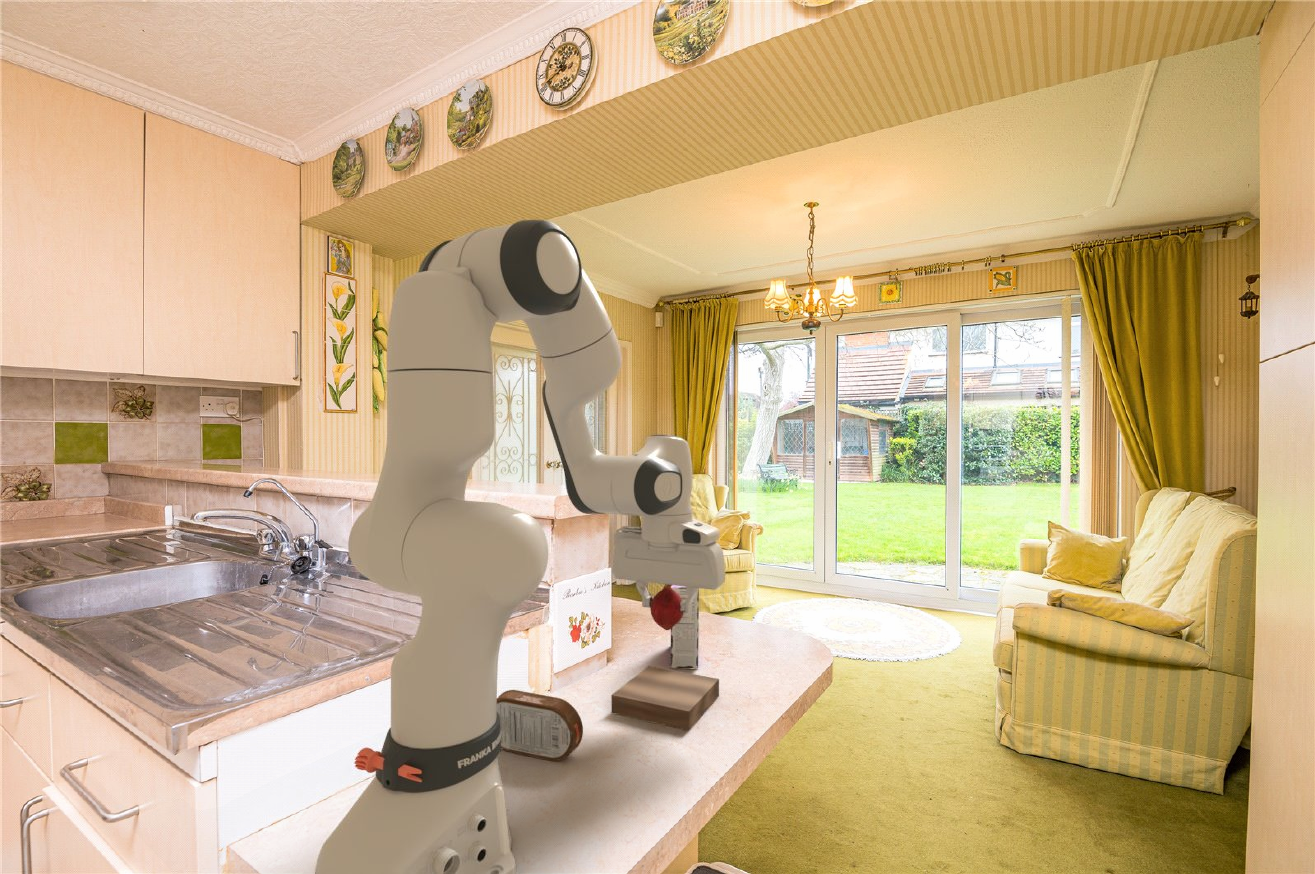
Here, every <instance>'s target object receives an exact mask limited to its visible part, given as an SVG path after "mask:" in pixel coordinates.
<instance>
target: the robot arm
mask: <svg viewBox="0 0 1315 874" xmlns="http://www.w3.org/2000/svg"><path fill="white" fill-rule="evenodd" d="M388 320H389V323H388V328H387V329H388V330H387V340H386V415H387V416H386V422H387V423H386V424H387V425H386V445H385V452H384V458H383V464H382V468H381V470H380V475H379V477H378V478H379V479H378V481H377V485H376V488H375V491H374V494H373V497H372V499H371V501H370V503H369V504H368V506H367V507H366V508H365V510H363V511H362V512H361V514H360V515H358V517H357V518H356V520H355V521H354V522H353V524H352V527H351V530H350V532H349V537H348V542H347V544H348V545H347V546H348V547H347V548H348V555H349V558H350V561H351V564H352V566H353V567H354V568H355V570H356V571H358V572H359V573H360V574H361V575H362V576H364V577H365V578H366V579H368V580H370V581H371V582H373V583H375V584H377V585H378V586H380V587H381V588H383V589H386V590H389V591H392V592H397V593H400V594H401V593H403V594H406V595H411V596H417V597H420V599H421V605H422V606H421V614H420V619H419V623H418V627H417V629H416V630H417V631H416V633H415V635H414V637H413V638H411V639H409V640H408V641H407V642H406V643H405V644H404V645H402V646H401V647H400V648H399V649H398V651H397V652H396V653H395V655H394V657H393V659H392V662H391V666H390V727H389V729H388V731H387V733H386V735H385V739H384V742H383V746H382V749H381V751H379V750H374V749H372V748H370V747H364V748H362V749H360V750H359V751H358V752H357V755H356V757H354V760H355V761H354V762H353V763H354V767H355V768H356V769H357V770H360V771H366V772H367V773H369V774H373V773H375V776H374V778H372V780H371V781H370V782H369V784H368V785H367V787H366V788H365V789H364V790H363V792H362V793H361V794H360V796H359V797H358V799H357V800H355V802H354V804H353V805H352V807H351V808H350V809H349V810H348V811H347V813H346V814H345V816H344V817H343V818H342V819H341V821H340V822H339V823H338V825H337V826H336V828H335V829H334V830H333V831H332V832H331V834H330V835H329V836H328V838H327V839H326V840H325V842H323V844H322V846H321V847H320V851H319V854H318V856H317V859H316V864H315V869H314V874H517V867H516V860H515V857H514V854H513V852H512V850H511V849H512V832H511V830H510V826H509V825H508V824H509V823H508V819H507V809H506V800H505V798H506V797H505V791H504V786H503V781H502V776H501V771H500V765H499V759H498V757H499V754H500V753H501V752H500V751H501V750H502V748H501V736H502V730H501V726H500V715H499V713H498V712H497V698H498V672H499V671H498V669H499V667H498V666H499V665H498V664H499V655H500V648H501V643H502V640H503V636H504V634H505V630H506V628H507V625H508V623H509V620H510V619H511V617H512V615H513V614H514V612H515V611H516V610H517V609H518V607H519V606H520V605H522V604H523V603H524V602H525V601H526V600H528V599H529V598H531V596H532V595H533V594H534V593H535V592H536V591H537V589H538V588H539V586H540V585H541V584H542V581H543V579H544V576H545V574H546V571H547V567H548V562H549V544H548V540H547V536H546V533H545V531H544V529H543V527H542V526H541V524H540V523H539V521H538V520H537V519H536V518H535V517H533V516H531V515H529V514H527V513H525V512H522V511H520V510H518V509H514V508H513V507H509V506H506V505H505V504H501V503H497V502H491V501H487V502H486V501H476V500H466V495H465V494H466V488H467V483H468V479H469V477H470V474H471V472H472V469H473V467H474V465H475V464H476V462H477V461H478V460H479V459H480V458H482V457H483V456H485V454H487V452H489V450H490V449H491V447H492V445H493V443H494V439H495V397H494V396H495V395H494V394H495V392H494V389H495V388H494V387H495V386H494V362H493V361H494V359H493V349H492V340H491V336H492V334H493V330H494V327H495V325H496V323H502V324H503V323H504V324H506V323H512V322H518V321H522V322H524V324H525V325H527V327H528V331H529V333H530V336H531V339H532V341H533V344H534V346H535V349H536V351H537V353H538V355H539V358H540V361H541V364H542V365H543V368H544V373H545V380H544V381H543V384H542V389H541V395H542V403H543V406H544V411H545V414H546V418H547V420H548V424H549V427H550V429H551V430H550V431H551V434H552V436H553V439H554V442H555V446H556V448H557V449H556V450H557V452H558V455H559V458H560V461H561V464H562V469H563V473H564V479H565V480H564V481H565V489H566V493H567V496H568V498H569V500H570V502H571V504H572V506H573V507H574V508H575V509H576V510H577V511H579V512H580V513H582V514H586V515H594V514H595V515H601V514H602V515H603V514H609V515H620V516H639V517H641V526H632V527H631V526H627V525H624V526H623V525H622V526H621V527H620V528H618V529H617V530H616V531H615V532H614V536H613V545H614V550H613V554H612V555H613V556H612V565H611V566H612V567H611V568H612V569H611V571H612V575H613V576H614V578H615V579H618V580H625V581H632V582H633V581H634V582H635V583H636V584H635V587H636V590H637V591H638V594H639V595H640V597H641V605H642V607H643V608H649V609H650V608H651V602H652V600H653V598H654V597H655V595H651V594H650V592H649V590H648V588H647V586H648V585H649V583H650V584H651V583H652V584H661V585H665V584H667V585H676V586H685V587H686V592H687V593H690V594H689V596H688V597H687V599H686V600H683V601H682V602H680V606H681V609H680V611H681V612H684V613H690V612H691V611H692V601H693V600H694V598H695V596H696V594H697V593H698V588H699V589H701V590H703V589H704V590H711V591H712V590H713V591H715V590H718V589H719V588H721V586H722V585H724V583H725V581H726V564H725V556H724V551H723V547H722V546H721V545H720V544H719V543H718V542H717V541H718V540H719V539H720V537H721V536H720V534H721V533H720V529H719V528H718V527H716V526H713V525H711V524H708V523H706V522H703V521H701V520H699V519H697V518H694V517H693V513H694V511H693V506H692V504H691V495H692V491H693V483H694V482H693V463H692V455H691V450H690V449H691V448H690V445H689V442H688V441H687V440H686V439H684V438H682V437H680V436H676V435H668V434H652V435H649V436H647V437H646V438H645V441H644V446H643V447H642V448H641V449H640V450H638V451H637V452H635V453H633V455H609V454H605V453H603V452H601V451H599V450H598V449H597V448H596V447H595V445H594V443H593V442H594V441H593V438H592V435H591V431H590V427H589V424H588V421H587V417H586V413H585V406H586V405H587V404H589V403H590V402H592V401H594V400H595V399H597V398H598V397H600V396H601V395H602V394H603V393H605V392H606V391H607V390H608V389H609V388H610V387H611V386H612V385H613V383H614V382H615V381H616V379H617V378H618V376H619V374H620V371H621V367H622V363H623V356H622V349H621V345H620V343H619V339H618V336H617V334H616V332H615V329H614V327H613V324H612V321H611V319H610V317H609V314H608V313H607V309H606V308H605V306H604V303H603V301H602V300H601V298H600V296H599V294H598V292H597V290H596V288H595V287H594V284H593V283H592V282H591V279H590V278H589V276H588V274H587V273H586V272H585V270H584V269H583V266H582V260H581V256H580V254H579V251H578V249H577V247H576V244H575V243H574V242H573V240H572V239H571V238H570V236H569V235H568V234H567V233H566V232H565V231H564V230H563V229H562V228H561V227H560V226H559V225H557V224H556V223H554V222H552V221H548V220H544V219H523V220H518V221H516V222H514V223H513V224H505V225H500V226H499V225H498V226H494V227H490V228H489V227H485V228H480V229H476V230H474V231H471V232H468V233H465V234H463V235H460V236H459V237H456V238H454V239H450V240H445V241H443V242H441V243H439V244H438V245H436V246H435V247H434V248H432V249H431V250H430V251H429V252H428V253H427V254H426V255H425V256H424V258H423V260H422V262H421V263H420V265H419V268H418V272H416V273H414V274H411V275H409V276H407V277H406V278H404V279H402V280H401V282H400V283H399V284H398V285H397V287H396V289H395V291H394V293H393V298H392V303H391V307H390V313H389V319H388Z"/></svg>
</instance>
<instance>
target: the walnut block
mask: <svg viewBox="0 0 1315 874" xmlns="http://www.w3.org/2000/svg"><path fill="white" fill-rule="evenodd" d="M719 696H720V679H719V678H715V677H711V676H707V675H706V676H705V675H700V674H693V673H689V672H684V671H677V670H672V669H667V668H661V667H656V666H651V665H648V666H646V667H645V668H644V669H643V670H642V671H640V672H639V673H638V674H636V675H635V676H633V677H632V678H631V679H630V680H629V681H627V682H626V683H625V684H624V685H622V686H621V687H620V688H618V689H617V690H616V691H615V692H613V693H612V694H611V712H610V713H611V714H615V715H618V716H622V717H623V716H624V717H628V718H632V719H637V720H641V721H646V722H649V723H654V724H659V725H663V726H667V727H670V728H671V727H672V728H676V729H682V730H684V731H690V730H691V729H692V728H693V727H694V725H696V723H697V722H698V721H699V720H700V719H701V718H702V716H703V715H704V714H705V713H706V712H707V711H708V709H709V708H710V707H711V706H712V704H714V702H716V700H717V699H718V698H719Z"/></svg>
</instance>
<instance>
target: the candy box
mask: <svg viewBox="0 0 1315 874" xmlns="http://www.w3.org/2000/svg"><path fill="white" fill-rule="evenodd" d="M671 589H672V590H674V591H675V592H676V593H677V594H678V595H679V596H680V597H681V599H682V601H683V600H686V599H687V597H688V596H689V594H690V593H687V592H686V587H685V586H676V585H671ZM699 590H700V588H698V593H697V594H696V596H695V598H694V600H693V601H692V611H691V612H690V613H684V614H683V616H682V618H681V620H680V621H679V622H678V623H677V624H676V625H675V626H673V627H672V628H671V629H670V669H676V668H698V669H699V640H700V639H699V638H700V637H699V635H700V634H699V633H700V631H699V630H700V629H699V628H700V627H699V626H700V623H699V622H700V621H699V619H700V612H699V611H700V606H699V605H700V601H699V600H700V597H699V595H700V591H699Z"/></svg>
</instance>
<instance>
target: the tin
mask: <svg viewBox="0 0 1315 874" xmlns="http://www.w3.org/2000/svg"><path fill="white" fill-rule="evenodd" d="M497 712H498V713H499V715H500V726H501V730H502V736H501V750H503V751H505V752H508V753H514V754H518V755H523V756H527V757H532V758H537V759H541V760H545V761H550V762H560V761H563V760H564V759H566V758H568V757H569V756H570V755H571V754H572V753H573V752H574V751H575V750H576V749H577V748H578V747H579V746H580V744H581V742H582V740H583V735H584V726H583V721H582V718H581V716H580V714H579V713H578V711H577V709H576V708H575V707H574V706H573V705H572V703H571V704H570V703H569V702H568V701H567V700H565V699H564V698H563V699H562V698H560V697H556V696H551V695H544V694H538V693H535V692H534V693H533V692H527V691H523V690H519V689H509V690H506V691H504V692H502V693H500V694H499V695H498V696H497Z"/></svg>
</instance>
